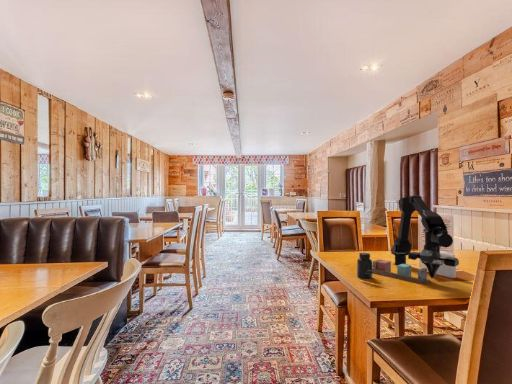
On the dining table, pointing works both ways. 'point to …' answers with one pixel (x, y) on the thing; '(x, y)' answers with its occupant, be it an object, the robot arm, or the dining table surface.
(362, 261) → the supplement bottle
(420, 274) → the bookend
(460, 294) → the dining table surface
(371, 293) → the dining table surface
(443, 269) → the photo printer
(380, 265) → the pink block
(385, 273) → the shelf board
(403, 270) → the teal block
